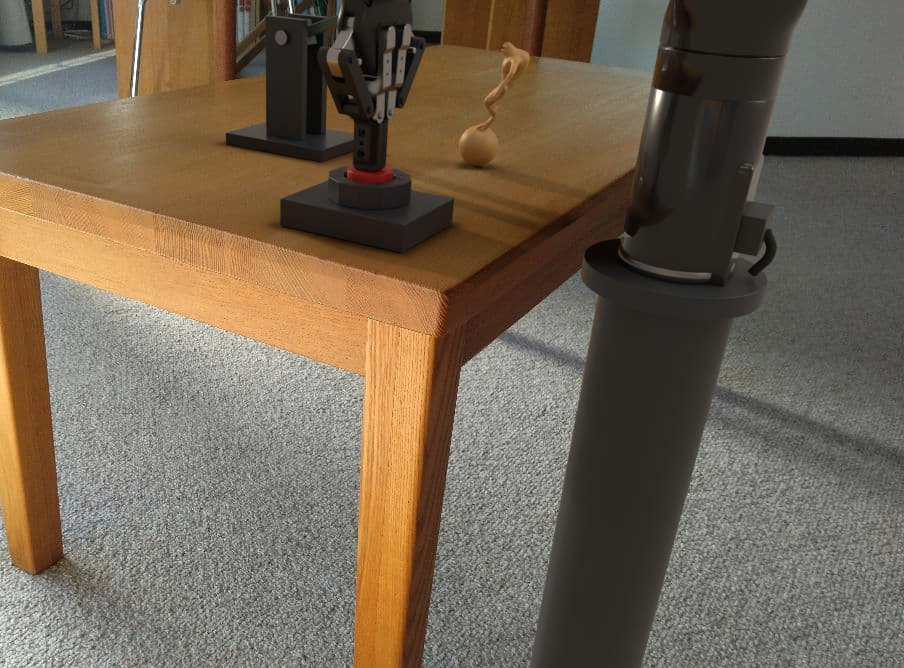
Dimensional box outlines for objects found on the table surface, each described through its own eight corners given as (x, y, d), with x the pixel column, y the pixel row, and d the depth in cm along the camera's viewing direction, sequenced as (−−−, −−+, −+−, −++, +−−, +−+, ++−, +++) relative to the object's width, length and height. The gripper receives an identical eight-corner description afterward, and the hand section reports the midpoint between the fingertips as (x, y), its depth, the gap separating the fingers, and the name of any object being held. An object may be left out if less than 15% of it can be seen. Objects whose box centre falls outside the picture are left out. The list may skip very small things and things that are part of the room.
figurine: (462, 154, 96) (474, 34, 90) (518, 160, 95) (534, 39, 89) (451, 173, 89) (464, 43, 83) (512, 179, 88) (529, 48, 82)
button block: (452, 224, 74) (456, 176, 72) (402, 253, 67) (406, 200, 65) (337, 200, 78) (339, 154, 76) (279, 225, 71) (279, 175, 69)
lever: (402, 15, 87) (396, -11, 86) (377, 18, 83) (371, -9, 83) (303, 49, 94) (296, 25, 93) (276, 53, 90) (269, 28, 89)
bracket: (365, 146, 97) (371, 19, 91) (321, 162, 90) (324, 25, 84) (273, 130, 102) (273, 8, 96) (225, 144, 95) (222, 13, 89)
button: (399, 190, 72) (401, 168, 71) (378, 200, 69) (379, 177, 68) (360, 183, 73) (361, 161, 72) (338, 192, 70) (338, 170, 70)
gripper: (384, -81, 55) (370, 196, 64) (469, -77, 65) (447, 161, 74) (283, -87, 58) (282, 178, 67) (379, -82, 69) (368, 147, 77)
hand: (369, 169), depth 70 cm, fingers closed
